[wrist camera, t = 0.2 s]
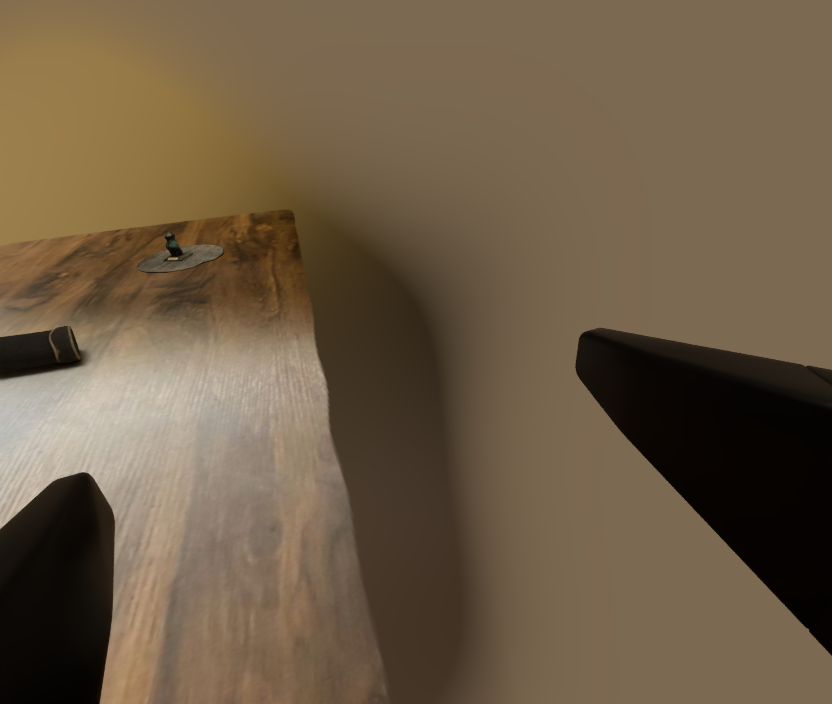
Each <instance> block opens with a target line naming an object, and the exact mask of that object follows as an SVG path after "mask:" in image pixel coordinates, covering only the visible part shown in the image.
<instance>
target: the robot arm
mask: <svg viewBox="0 0 832 704" xmlns="http://www.w3.org/2000/svg"><path fill="white" fill-rule="evenodd" d="M576 372H577V375H578V377H579V378H580V380H581V381H582V382H583V384H584V385H585V386H586V387H587V388H588V390H589V391H590V392H591V394H592V395H593V397H594V398H595V399H596V400H597V402H598V403H599V404H600V406H601V407H602V408H603V409H604V411H605V412H606V413H607V414H608V416H609V417H610V418H611V420H612V421H613V422H614V424H615V425H616V426H617V427H618V428H619V429H620V431H621V432H622V433H623V434H624V435H625V436H626V438H627V439H628V440H629V441H630V442H631V443H632V444H633V445H634V446H635V447H636V448H637V449H638V450H639V451H640V452H641V454H642V455H643V456H644V457H645V458H646V459H647V460H648V461H649V462H650V463H651V464H652V465H653V466H654V467H655V468H656V469H657V470H658V472H660V474H661V475H663V477H664V478H665V479H666V480H667V481H668V482H669V483H670V484H671V485H672V486H673V487H674V489H676V491H677V492H678V493H679V494H680V495H681V496H682V497H683V498H684V499H685V500H686V501H687V502H688V503H689V504H690V505H691V506H692V507H693V509H694V510H695V511H696V512H697V513H698V514H699V515H700V516H701V517H702V518H703V519H704V520H705V521H706V522H707V523H708V525H710V527H711V528H712V529H713V530H714V531H715V532H716V533H717V534H718V535H719V536H720V537H721V538H722V539H723V540H724V541H725V542H726V544H727V545H728V546H729V547H730V548H731V549H732V550H733V551H734V552H735V553H736V554H737V555H738V556H739V557H740V558H741V560H742V561H743V562H744V563H745V564H746V565H747V566H748V567H749V568H750V569H751V570H752V571H753V572H754V573H755V574H756V575H757V576H758V578H759V579H760V580H761V581H762V582H763V583H764V584H765V585H766V586H767V587H768V588H769V589H770V590H771V591H772V592H773V593H774V594H775V595H776V597H777V598H778V599H779V600H780V601H781V602H782V603H783V604H784V605H785V606H786V607H787V608H788V609H789V610H790V611H791V612H792V613H793V615H794V616H795V617H796V618H797V619H798V620H799V621H800V622H801V623H802V624H803V625H804V626H805V627H806V628H808V629H809V632H810V633H811V634H812V635H813V636H814V637H815V638H816V640H817V641H818V642H819V643H820V644H821V645H822V646H823V647H824V648H825V649H826V650H827V651H828V652H829V653H830V654H831V655H832V370H829V369H823V368H818V367H813V366H806V367H805V366H803V365H801V364H796V363H790V362H785V361H779V360H774V359H769V358H763V357H758V356H753V355H747V354H742V353H735V352H730V351H725V350H720V349H714V348H709V347H703V346H698V345H692V344H687V343H682V342H676V341H671V340H665V339H660V338H654V337H649V336H643V335H637V334H632V333H627V332H621V331H616V330H611V329H605V328H597V329H593V330H590V331H586V332H584V333H582V334H581V336H580V338H579V343H578V351H577V358H576ZM114 536H115V520H114V514H113V511H112V509H111V507H110V505H109V503H108V502H107V500H106V498H105V497H104V495H103V493H102V492H101V490H100V488H99V487H98V485H97V483H96V482H95V480H94V478H93V477H92V476H91V475H90V474H88V473H84V472H82V473H78V474H75V475H71V476H67V477H64V478H60V479H57V480H55V481H53V482H52V483H51V484H49V485H48V486H47V487H46V488H45V489H44V490H43V491H42V492H41V493H40V494H39V495H37V496H36V497H35V498H34V499H33V500H32V501H31V502H30V503H29V504H28V505H26V506H25V507H24V508H23V509H22V510H21V511H20V512H19V513H18V514H17V515H15V516H14V517H13V518H12V519H11V520H10V521H9V522H8V523H7V524H6V525H4V526H3V527H2V528H1V529H0V704H100V697H101V690H102V684H103V677H104V671H105V664H106V657H107V651H108V644H109V638H110V630H111V622H112V609H113V577H114Z"/></svg>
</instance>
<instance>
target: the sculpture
mask: <svg viewBox="0 0 832 704" xmlns="http://www.w3.org/2000/svg"><path fill="white" fill-rule="evenodd" d="M165 239H166V240H167V243H166V248H167V249H168V250H164V251H161V252H158V253H155V254H153V255H152V256H151V257H149V258H146V259H144V260H143V261H141V262H140V263H138V266H137V269H138V270H140V271H144V272H170V271H176V270H182V269H187V268H191V267H195V266H197V265H199V264H200V263H202V262H204V261H210V260H213V259H215V258H217V257H219V256H220V255H221V254H222V253H223V248H222V246H217V245H194V246H184V247H180V246H179V245H178V244H177V242H176V241H175V235H174V234H173V233H171V232H169V233H166V235H165ZM137 269H136V270H137Z"/></svg>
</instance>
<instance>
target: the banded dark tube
mask: <svg viewBox="0 0 832 704" xmlns="http://www.w3.org/2000/svg"><path fill="white" fill-rule="evenodd" d="M78 360H81V356H80V352H79V348H78V345H77V342H76V339H75V337H74V334H73V331H72V329H71V327H70V326H64V327H58V328H55V329H53V330H50V331H43V332H36V333H29V334H22V335H14V336H6V337H0V371H4V370H11V369H18V368H25V367H32V366H39V365H45V364H52V363H58V362H60V363H67V362H73V361H78Z"/></svg>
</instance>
